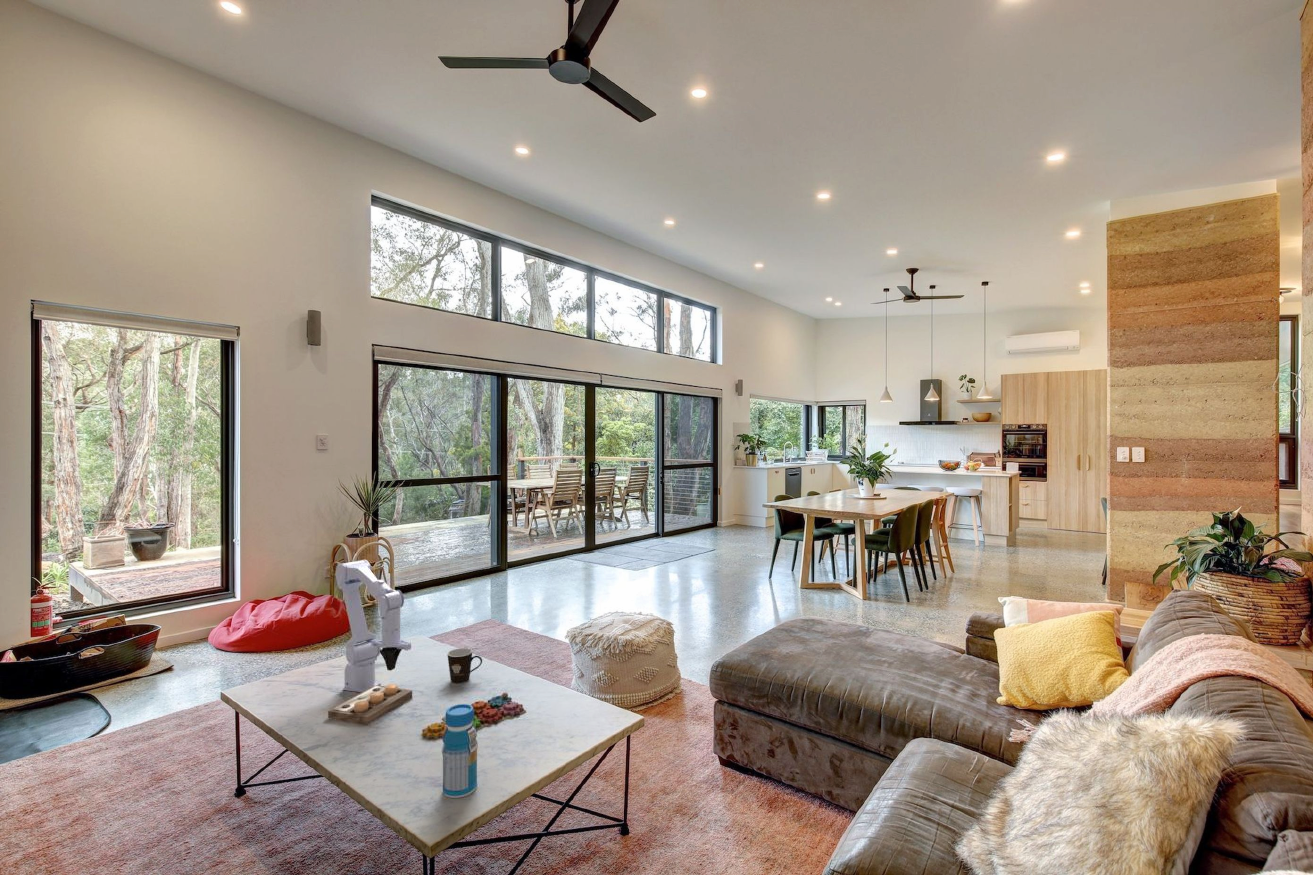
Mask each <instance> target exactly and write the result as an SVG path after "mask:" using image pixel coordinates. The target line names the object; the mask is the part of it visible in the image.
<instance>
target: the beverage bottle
mask: <svg viewBox="0 0 1313 875" xmlns="http://www.w3.org/2000/svg"><path fill="white" fill-rule="evenodd" d="M444 717H446V725H445V726H447V728H446V730H445V732H444V735H443V736H442V739H441V740H442V743H443V744H442V747H441V754H442V793H443V795H444V796H446V797H448V798H452V799H459V798H463V797H464V798H465V797H466V796H467V797H468V796H469V795H470V794H472V793H473V792H474V791H475V790H476V789H477V786H478V744H479V743H478V740H477V737H478V732H477V731H478V730H476V729H475V727H474V725H473V724H472V723H473V720H474V708H473V706H471V704H469V703H459V704H454V705H452V706H450V707H448V708H447V709H446V710H445V716H444Z"/></svg>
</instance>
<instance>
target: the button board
mask: <svg viewBox="0 0 1313 875" xmlns="http://www.w3.org/2000/svg"><path fill="white" fill-rule="evenodd" d="M385 686H386V685H375V686H373V687H371V688H369V689H367V690H366V691H364V692H359V693H358V694H356V695H355V696H353V697H351V698H349V699H347V700H345V701H344V702H342V703H339V704H338V705H336V706H333V707H332V708H330V709H329V710H328V711H327V712H328V713H327V719H328V718H331V719H330V720H333V719H336V720H335V721H340V722H345V723H351V724H357V725H363V726H369V725H370V724H372V723H374V722H375V721H377V720H378V719H381V717H383V716H386V714H388V713H391V711H394V710H395V709H396V708H398V707H399V706H401V705H403V704H405V703H407V702H408V701H409V700H411V699H412V698H413V690H412V689H405V688H400V687H399V688H398V693H397V694H395V695H392V696H386V695H385ZM376 692H383V693H384V701H383V702H382V703H379V704H370V695H371V694H373V693H376ZM359 701H368V703H369V709H368V711H366V712H364V713H355V712H354V704H355V703H356V702H359Z"/></svg>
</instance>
